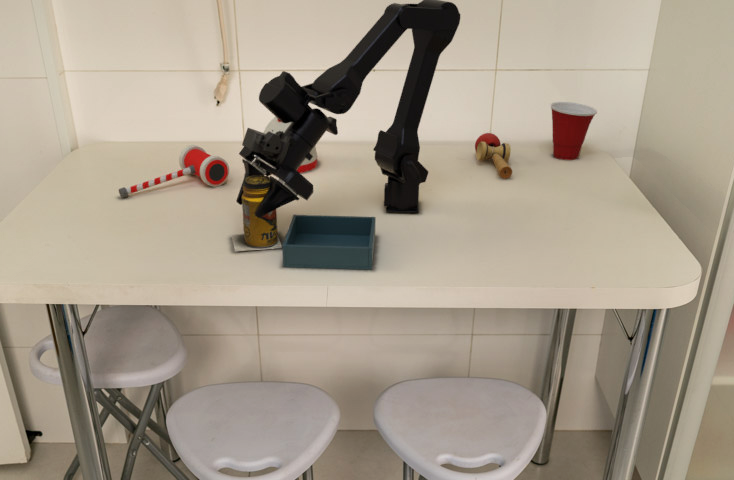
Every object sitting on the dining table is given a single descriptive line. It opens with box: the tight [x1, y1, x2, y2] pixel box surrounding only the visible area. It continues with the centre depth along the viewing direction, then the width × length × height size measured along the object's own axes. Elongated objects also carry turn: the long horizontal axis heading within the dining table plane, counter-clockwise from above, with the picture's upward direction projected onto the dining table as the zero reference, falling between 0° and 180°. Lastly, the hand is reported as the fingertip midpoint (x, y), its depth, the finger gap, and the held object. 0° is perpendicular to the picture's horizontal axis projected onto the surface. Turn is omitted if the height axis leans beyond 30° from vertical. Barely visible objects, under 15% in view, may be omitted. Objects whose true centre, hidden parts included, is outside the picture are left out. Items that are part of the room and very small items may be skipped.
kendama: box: [474, 132, 513, 180], centre depth 180 cm, size 8×6×18 cm
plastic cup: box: [550, 101, 598, 161], centre depth 185 cm, size 11×11×12 cm
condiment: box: [230, 175, 283, 252], centre depth 140 cm, size 7×8×12 cm
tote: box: [281, 214, 377, 271], centre depth 138 cm, size 15×14×4 cm
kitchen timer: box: [262, 116, 318, 174], centre depth 178 cm, size 14×14×15 cm
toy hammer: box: [118, 144, 230, 199], centre depth 167 cm, size 23×12×6 cm, turn 127°
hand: (247, 209), depth 139 cm, fingers open, 7 cm apart
